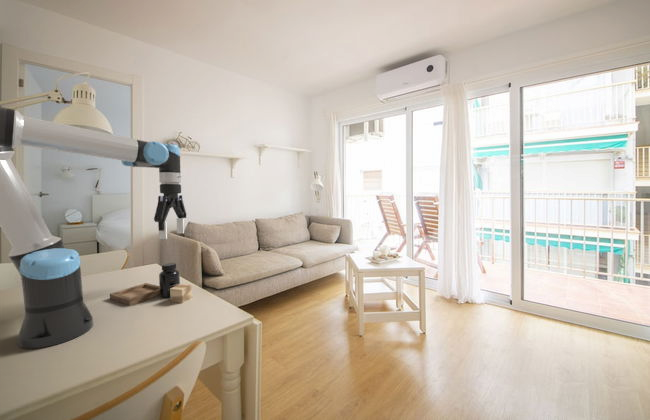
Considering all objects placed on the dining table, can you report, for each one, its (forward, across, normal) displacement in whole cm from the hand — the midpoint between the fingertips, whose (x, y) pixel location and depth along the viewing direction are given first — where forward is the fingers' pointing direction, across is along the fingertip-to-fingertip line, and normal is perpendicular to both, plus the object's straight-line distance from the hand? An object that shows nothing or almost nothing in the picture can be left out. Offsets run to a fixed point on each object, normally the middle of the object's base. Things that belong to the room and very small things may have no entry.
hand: (172, 235), depth 112 cm
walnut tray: (+22, -9, +9) cm, 25 cm away
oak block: (+22, -13, -9) cm, 27 cm away
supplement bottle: (+22, -8, -3) cm, 23 cm away
